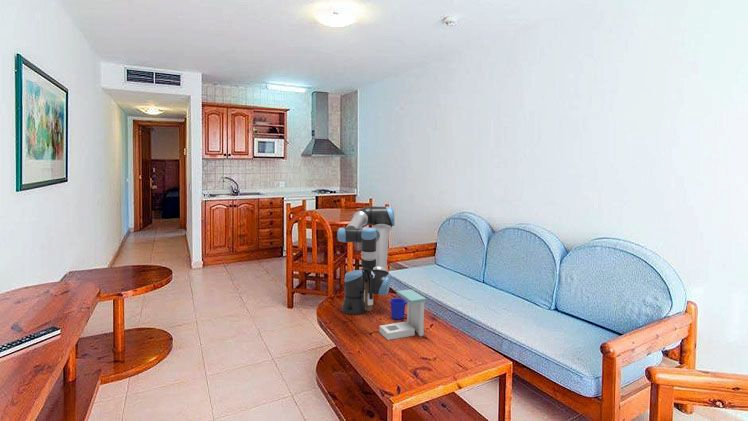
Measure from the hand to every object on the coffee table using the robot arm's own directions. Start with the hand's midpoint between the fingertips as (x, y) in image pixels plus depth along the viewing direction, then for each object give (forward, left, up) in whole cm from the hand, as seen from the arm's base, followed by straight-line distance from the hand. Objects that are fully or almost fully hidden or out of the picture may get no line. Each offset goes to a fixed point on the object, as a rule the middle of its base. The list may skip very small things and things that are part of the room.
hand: (368, 303), depth 204 cm
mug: (-10, +24, -15) cm, 30 cm away
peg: (0, 0, -3) cm, 3 cm away
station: (+8, +14, -15) cm, 23 cm away
